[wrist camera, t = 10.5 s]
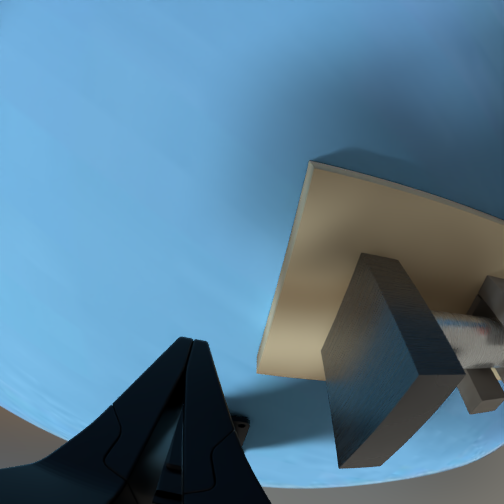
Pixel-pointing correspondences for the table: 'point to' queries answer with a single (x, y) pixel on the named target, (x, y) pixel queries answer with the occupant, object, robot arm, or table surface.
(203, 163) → the table surface
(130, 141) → the table surface
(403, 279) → the shaft
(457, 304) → the beige piece
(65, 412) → the table surface
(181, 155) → the table surface
